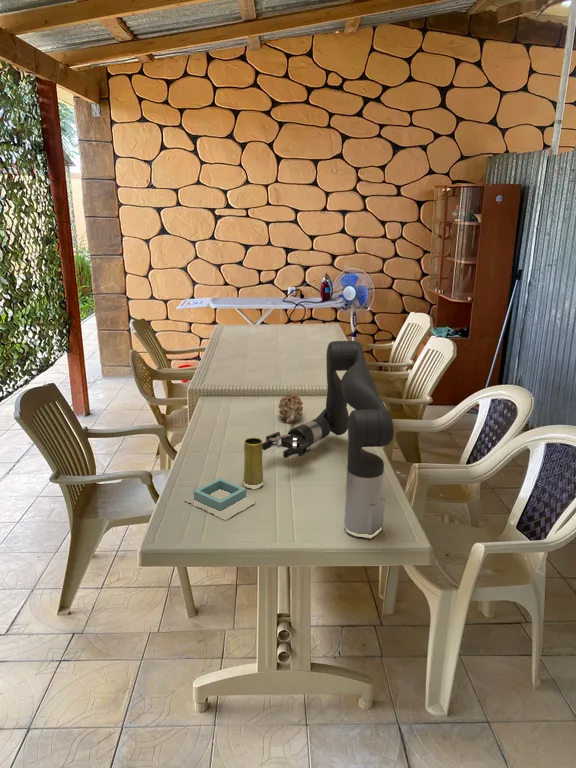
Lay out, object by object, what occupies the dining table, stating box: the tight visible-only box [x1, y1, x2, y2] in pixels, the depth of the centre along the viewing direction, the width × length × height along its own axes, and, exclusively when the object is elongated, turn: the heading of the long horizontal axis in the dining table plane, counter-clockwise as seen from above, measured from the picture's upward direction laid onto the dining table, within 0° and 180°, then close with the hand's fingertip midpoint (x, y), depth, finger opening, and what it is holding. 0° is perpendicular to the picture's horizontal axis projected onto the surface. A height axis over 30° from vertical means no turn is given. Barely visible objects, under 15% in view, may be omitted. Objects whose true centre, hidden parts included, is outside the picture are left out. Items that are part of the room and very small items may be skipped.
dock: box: [193, 477, 247, 511], centre depth 172 cm, size 16×12×4 cm
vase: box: [243, 437, 264, 485], centre depth 181 cm, size 6×6×14 cm
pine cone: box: [277, 391, 304, 423], centre depth 229 cm, size 22×10×10 cm, turn 3°
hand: (273, 450), depth 188 cm, fingers open, 8 cm apart
